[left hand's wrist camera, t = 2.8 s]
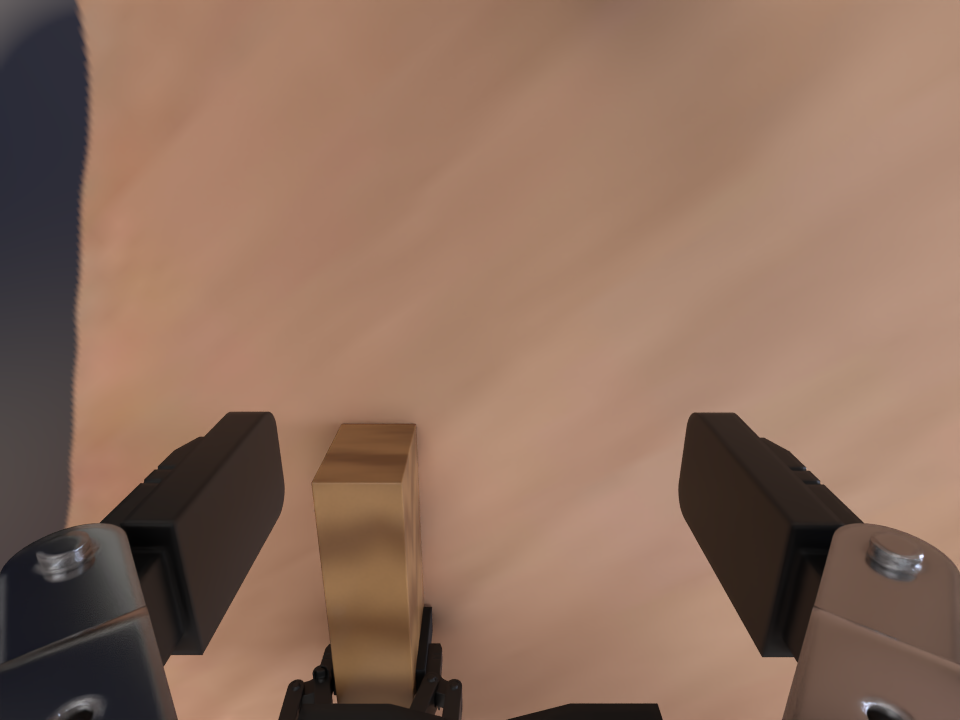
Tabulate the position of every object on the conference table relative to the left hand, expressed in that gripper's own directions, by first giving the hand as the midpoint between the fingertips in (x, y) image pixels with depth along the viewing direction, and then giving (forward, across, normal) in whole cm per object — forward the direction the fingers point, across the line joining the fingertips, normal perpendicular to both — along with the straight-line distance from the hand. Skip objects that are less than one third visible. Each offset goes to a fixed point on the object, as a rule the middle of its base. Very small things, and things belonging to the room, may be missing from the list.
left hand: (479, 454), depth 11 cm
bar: (+30, +8, +26) cm, 41 cm away
